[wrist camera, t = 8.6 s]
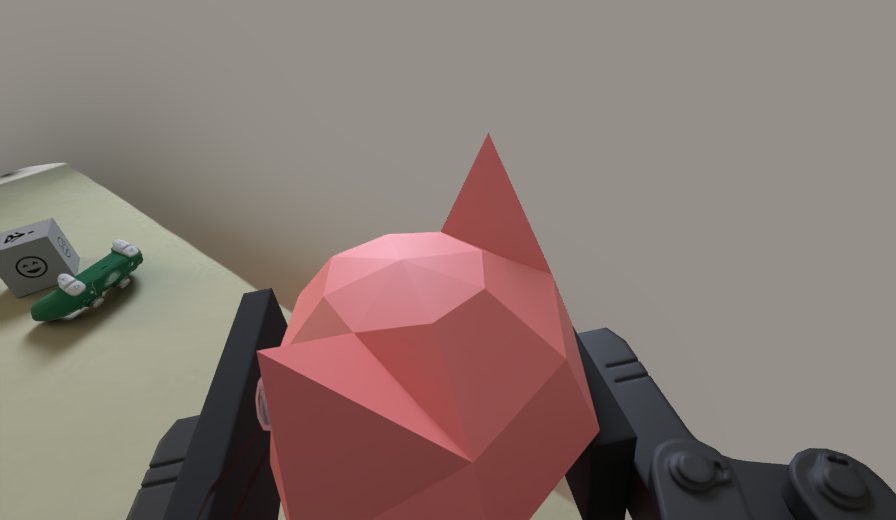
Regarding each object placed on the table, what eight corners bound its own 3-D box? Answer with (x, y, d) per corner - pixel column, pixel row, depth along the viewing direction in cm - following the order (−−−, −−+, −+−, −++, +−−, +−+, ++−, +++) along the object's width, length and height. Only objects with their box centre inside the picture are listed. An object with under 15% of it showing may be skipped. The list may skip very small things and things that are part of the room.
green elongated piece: (64, 342, 41) (72, 310, 37) (24, 316, 40) (28, 281, 37) (145, 280, 48) (158, 248, 45) (112, 258, 48) (123, 223, 44)
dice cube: (25, 275, 49) (-7, 235, 46) (79, 257, 51) (52, 217, 48) (17, 298, 45) (-18, 255, 42) (76, 278, 47) (46, 235, 44)
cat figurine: (406, 449, 17) (347, 113, 10) (603, 521, 14) (696, 137, 8) (271, 689, 11) (-40, 305, 5) (551, 874, 9) (708, 600, 2)
